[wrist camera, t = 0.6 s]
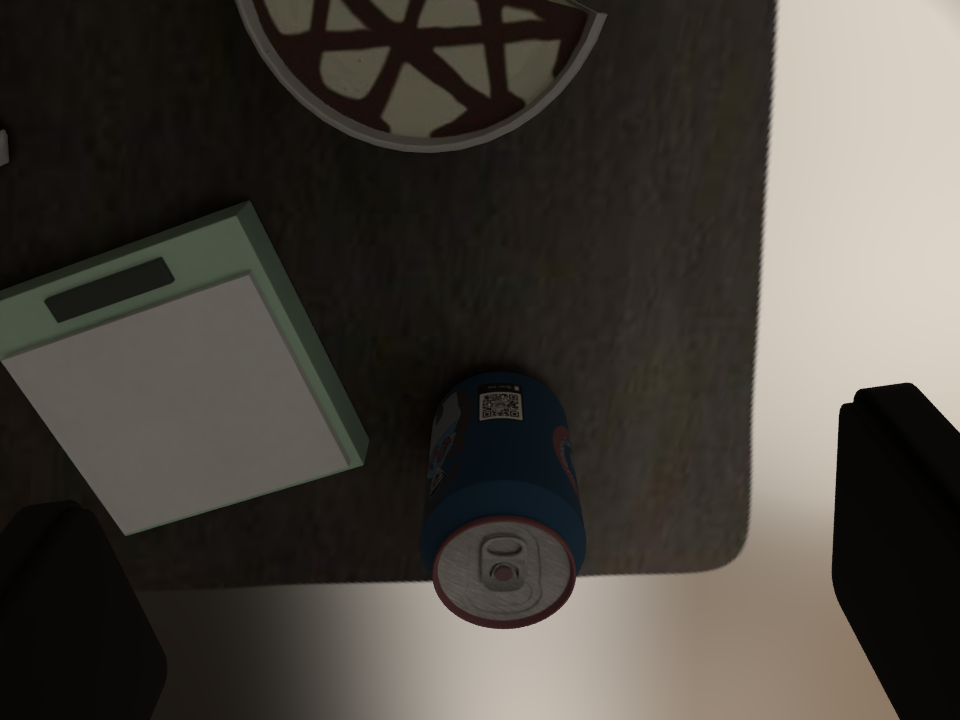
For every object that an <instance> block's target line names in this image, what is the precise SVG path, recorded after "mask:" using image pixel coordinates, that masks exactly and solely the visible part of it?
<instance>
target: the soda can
mask: <svg viewBox="0 0 960 720" xmlns="http://www.w3.org/2000/svg"><path fill="white" fill-rule="evenodd" d="M420 547H421V555H422V559H423V562H424V565H425V567H426V569H427V571H428V573H429V575H430V576H431V578H432V579H433V584H434V588H435V590H436V593H437V595H438V596H439V598H440V600H441V601H442V602H443V604H444V605H445V606H446V607H447V608H448V609H449V610H450V611H451V612H453V613H454V614H455V615H457V616H458V617H460V618H462V619H463V620H465V621H468V622H470V623H473V624H475V625H478V626H482V627H487V628H494V629H513V628H520V627H524V626H529V625H532V624H535V623H537V622H540V621H542V620H544V619H546V618H547V617H549V616H551V615H552V614H554V613H555V612H556V611H557V610H559V609H560V608H561V607H562V606H563V605H564V604H565V603H566V601H567V600H568V598H569V597H570V595H571V593H572V591H573V588H574V585H575V580H576V576H577V574H578V572H579V571H580V569H581V566H582V564H583V561H584V558H585V553H586V535H585V529H584V523H583V517H582V511H581V504H580V498H579V492H578V486H577V480H576V474H575V468H574V462H573V456H572V450H571V443H570V437H569V431H568V425H567V419H566V415H565V412H564V410H563V408H562V406H561V404H560V402H559V401H558V399H557V398H556V397H555V395H554V394H553V393H552V392H551V391H550V390H549V389H548V388H546V387H545V386H544V385H542V384H541V383H539V382H538V381H536V380H534V379H532V378H530V377H527V376H524V375H521V374H518V373H513V372H503V371H498V372H488V373H483V374H479V375H476V376H473V377H471V378H469V379H466V380H465V381H463V382H461V383H460V384H458V385H457V386H455V387H454V388H453V389H452V390H451V391H450V392H449V393H448V394H447V395H446V396H445V397H444V398H443V400H442V401H441V403H440V404H439V406H438V408H437V410H436V413H435V416H434V419H433V425H432V435H431V445H430V455H429V464H428V474H427V484H426V493H425V503H424V513H423V523H422V532H421V542H420Z"/></svg>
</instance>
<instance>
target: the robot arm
mask: <svg viewBox="0 0 960 720" xmlns="http://www.w3.org/2000/svg"><path fill="white" fill-rule="evenodd" d="M838 429H839V430H838V449H837V450H838V451H837V471H836V491H835V513H834V534H833V554H832V581H833V587H834V591H835V594H836V597H837V600H838V602H839V604H840V606H841V608H842V610H843V612H844V614H845V616H846V618H847V620H848V622H849V623H850V625H851V627H852V629H853V631H854V633H855V635H856V637H857V639H858V641H859V643H860V644H861V646H862V648H863V650H864V652H865V654H866V656H867V658H868V660H869V662H870V663H871V665H872V667H873V669H874V671H875V673H876V675H877V677H878V679H879V681H880V682H881V684H882V686H883V688H884V690H885V692H886V694H887V696H888V698H889V699H890V702H891V704H892V705H893V707H894V709H895V711H896V713H897V715H898V717H899V719H900V720H960V433H959V432H958V431H957V430H956V429H955V427H954V426H953V425H952V424H951V423H950V422H949V421H948V420H947V419H946V418H945V417H944V416H943V415H942V414H941V412H939V411H938V409H937V408H936V407H935V406H934V405H933V404H932V403H931V402H930V401H929V400H928V399H927V398H926V396H924V394H923V393H922V392H921V391H920V390H919V389H918V388H917V387H916V386H914V385H913V384H912V383H901V384H894V385H887V386H879V387H872V388H865V389H860V390H858V391H857V392H856V394H855V397H854V401H853V403H846V404H843V405H842V406H841V408H840V414H839V428H838ZM166 677H167V661H166V656H165V654H164V651H163V649H162V647H161V645H160V643H159V641H158V639H157V637H156V635H155V633H154V631H153V629H152V627H151V625H150V623H149V621H148V619H147V617H146V615H145V613H144V611H143V609H142V607H141V605H140V603H139V601H138V599H137V597H136V595H135V593H134V591H133V589H132V587H131V585H130V583H129V581H128V579H127V577H126V575H125V573H124V571H123V569H122V567H121V565H120V563H119V561H118V559H117V557H116V555H115V553H114V551H113V549H112V547H111V545H110V543H109V541H108V539H107V537H106V535H105V533H104V531H103V529H102V527H101V525H100V523H99V521H98V519H97V517H96V516H95V514H94V513H93V512H92V511H90V510H88V509H83V508H82V507H81V505H79V504H78V503H77V502H75V501H72V500H64V501H57V502H50V503H43V504H35V505H29V506H26V507H23V508H22V509H21V510H20V511H18V512H17V513H16V515H15V516H14V517H13V518H12V520H11V521H10V522H9V524H8V525H7V526H6V527H5V529H4V530H3V531H2V532H1V534H0V720H150V718H151V716H152V713H153V711H154V709H155V706H156V704H157V701H158V699H159V697H160V694H161V692H162V690H163V687H164V685H165V681H166Z"/></svg>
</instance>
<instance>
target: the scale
mask: <svg viewBox="0 0 960 720" xmlns="http://www.w3.org/2000/svg"><path fill="white" fill-rule="evenodd" d="M0 360H1V362H2V363H3V365H4V366H5V368H6V369H7V370H8V372H9V373H10V375H11V376H12V377H13V379H14V380H15V382H16V383H17V384H18V386H19V387H20V389H21V390H22V391H23V393H24V394H25V396H26V397H27V398H28V400H29V401H30V403H31V404H32V405H33V407H34V408H35V410H36V411H37V412H38V414H39V415H40V417H41V418H42V420H43V421H44V422H45V424H46V425H47V427H48V428H49V429H50V431H51V432H52V434H53V435H54V436H55V438H56V439H57V441H58V442H59V443H60V445H61V446H62V448H63V449H64V450H65V452H66V453H67V455H68V456H69V457H70V459H71V460H72V462H73V463H74V464H75V466H76V467H77V469H78V470H79V471H80V473H81V474H82V476H83V477H84V478H85V480H86V481H87V483H88V484H89V486H90V487H91V488H92V490H93V491H94V493H95V494H96V495H97V497H98V498H99V500H100V501H101V502H102V504H103V505H104V507H105V508H106V509H107V511H108V512H109V514H110V515H111V516H112V518H113V519H114V521H115V522H116V523H117V525H118V526H119V528H120V529H121V530H122V532H123V533H124V535H125V536H127V535H130V534H134V533H137V532H141V531H144V530H147V529H151V528H154V527H157V526H161V525H164V524H167V523H171V522H174V521H177V520H181V519H184V518H188V517H191V516H194V515H198V514H201V513H204V512H208V511H211V510H214V509H218V508H221V507H224V506H228V505H231V504H234V503H238V502H241V501H245V500H248V499H251V498H255V497H258V496H261V495H265V494H268V493H271V492H275V491H278V490H281V489H285V488H288V487H292V486H295V485H298V484H302V483H305V482H308V481H312V480H315V479H318V478H322V477H325V476H328V475H332V474H335V473H339V472H342V471H345V470H349V469H352V468H355V467H359V466H362V465H364V461H365V456H366V452H367V448H368V443H369V438H368V436H367V434H366V432H365V430H364V428H363V426H362V424H361V422H360V420H359V418H358V416H357V414H356V412H355V410H354V408H353V406H352V404H351V402H350V400H349V398H348V396H347V394H346V392H345V390H344V388H343V386H342V384H341V382H340V380H339V378H338V376H337V374H336V372H335V370H334V368H333V366H332V364H331V362H330V360H329V358H328V356H327V354H326V352H325V350H324V348H323V346H322V344H321V342H320V340H319V338H318V336H317V334H316V332H315V330H314V328H313V326H312V324H311V322H310V320H309V318H308V316H307V314H306V312H305V310H304V308H303V306H302V304H301V302H300V300H299V298H298V296H297V294H296V292H295V290H294V288H293V286H292V284H291V282H290V280H289V278H288V276H287V274H286V272H285V270H284V268H283V266H282V264H281V262H280V260H279V258H278V256H277V254H276V252H275V250H274V248H273V246H272V244H271V242H270V240H269V238H268V236H267V234H266V232H265V230H264V228H263V226H262V224H261V222H260V220H259V218H258V216H257V214H256V212H255V210H254V208H253V206H252V204H251V202H250V200H247V201H245V202H242V203H239V204H237V205H234V206H231V207H228V208H226V209H223V210H220V211H217V212H215V213H212V214H209V215H206V216H204V217H201V218H198V219H195V220H193V221H190V222H187V223H184V224H182V225H179V226H176V227H173V228H171V229H168V230H165V231H162V232H160V233H157V234H154V235H151V236H149V237H146V238H143V239H141V240H138V241H135V242H132V243H130V244H127V245H124V246H121V247H119V248H116V249H113V250H110V251H108V252H105V253H102V254H99V255H97V256H94V257H91V258H88V259H86V260H83V261H80V262H77V263H75V264H72V265H69V266H66V267H64V268H61V269H58V270H56V271H53V272H50V273H47V274H45V275H42V276H39V277H36V278H34V279H31V280H28V281H25V282H23V283H20V284H17V285H14V286H12V287H9V288H6V289H3V290H1V291H0Z"/></svg>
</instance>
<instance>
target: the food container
mask: <svg viewBox="0 0 960 720" xmlns="http://www.w3.org/2000/svg"><path fill="white" fill-rule="evenodd" d="M235 3H236V5H237V8H238V10H239V13H240V16H241V18H242V21H243V24H244V26H245V28H246V30H247V32H248V34H249V36H250V38H251V39H252V41H253V43H254V45H255V47H256V49H257V50H258V52H259V54H260V56H261V57H262V59H263V60H264V61H265V63H266V64H267V65H268V67H269V68H270V69H271V71H272V72H273V74H274V75H275V76H276V78H277V79H278V80H279V82H280V83H281V84H282V85H283V86H284V87H285V88H286V89H287V90H288V91H289V92H290V93H291V94H292V95H293V96H294V97H295V98H296V99H297V100H298V101H299V102H300V103H301V104H302V105H303V106H305V107H306V108H307V109H309V110H310V111H311V112H313V113H314V114H315V115H317V116H318V117H319V118H320V119H322V120H323V121H324V122H326V123H328V124H330V125H331V126H333V127H335V128H337V129H339V130H340V131H342V132H344V133H346V134H348V135H349V136H352V137H354V138H357V139H360V140H362V141H365V142H368V143H371V144H373V145H376V146H380V147H385V148H390V149H394V150H399V151H404V152H425V153H436V152H444V151H453V150H461V149H464V148H468V147H472V146H475V145H479V144H482V143H486V142H489V141H491V140H493V139H495V138H497V137H499V136H502V135H504V134H506V133H508V132H510V131H512V130H514V129H516V128H518V127H519V126H521V125H522V124H524V123H525V122H527V121H528V120H530V119H531V118H532V117H534V116H535V115H537V114H538V113H540V112H541V111H542V110H543V109H544V108H545V107H546V106H547V105H548V104H550V103H551V102H552V101H553V100H554V99H555V98H556V97H557V96H558V95H559V94H560V93H561V92H562V91H563V90H564V89H565V87H566V86H567V85H568V84H569V82H570V81H571V80H572V79H573V77H574V76H575V75H576V74H577V72H578V71H579V70H580V69H581V67H582V65H583V63H584V62H585V60H586V58H587V57H588V55H589V53H590V51H591V50H592V48H593V46H594V45H595V43H596V41H597V39H598V36H599V34H600V31H601V29H602V26H603V24H604V22H605V19H606V17H607V14H606V13H597V12H595V11H593V10H591V9H589V8H588V7H586V6H584V5H582V4H580V3H578V2H576V1H574V0H235Z"/></svg>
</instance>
